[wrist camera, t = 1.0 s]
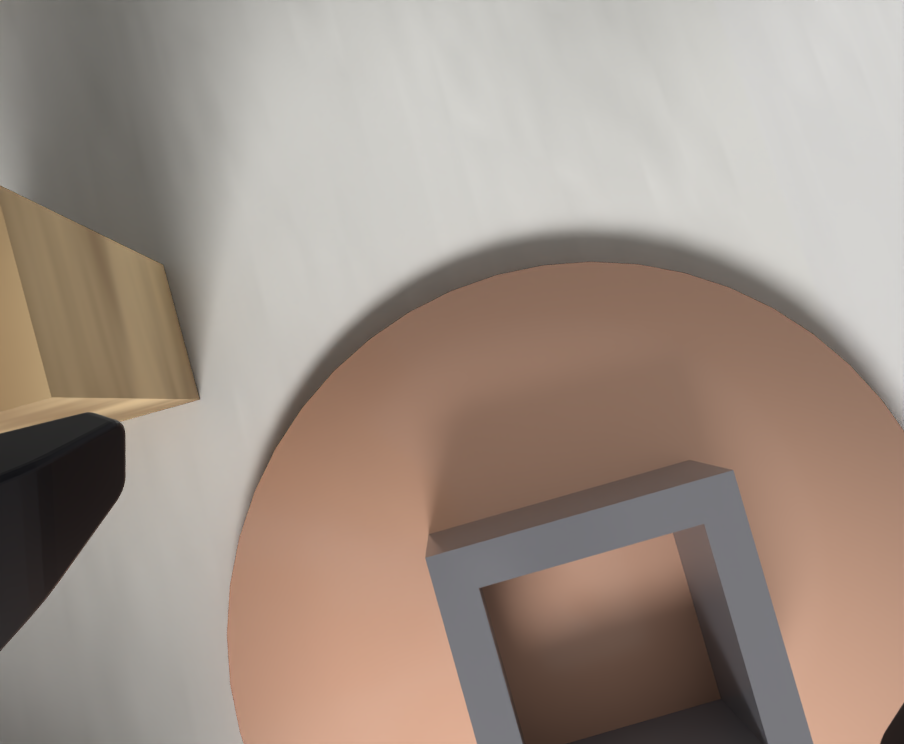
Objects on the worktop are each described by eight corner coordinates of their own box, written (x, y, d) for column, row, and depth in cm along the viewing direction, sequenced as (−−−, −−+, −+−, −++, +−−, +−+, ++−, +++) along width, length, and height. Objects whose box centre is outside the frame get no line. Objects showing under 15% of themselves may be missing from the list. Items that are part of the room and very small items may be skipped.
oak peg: (63, 437, 24) (-168, 458, 15) (27, 302, 24) (-224, 242, 15) (199, 399, 24) (51, 397, 15) (163, 264, 24) (-6, 182, 15)
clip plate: (343, 1070, 23) (319, 1230, 19) (156, 375, 24) (89, 368, 19) (1031, 868, 24) (1169, 977, 19) (827, 187, 24) (914, 137, 20)
